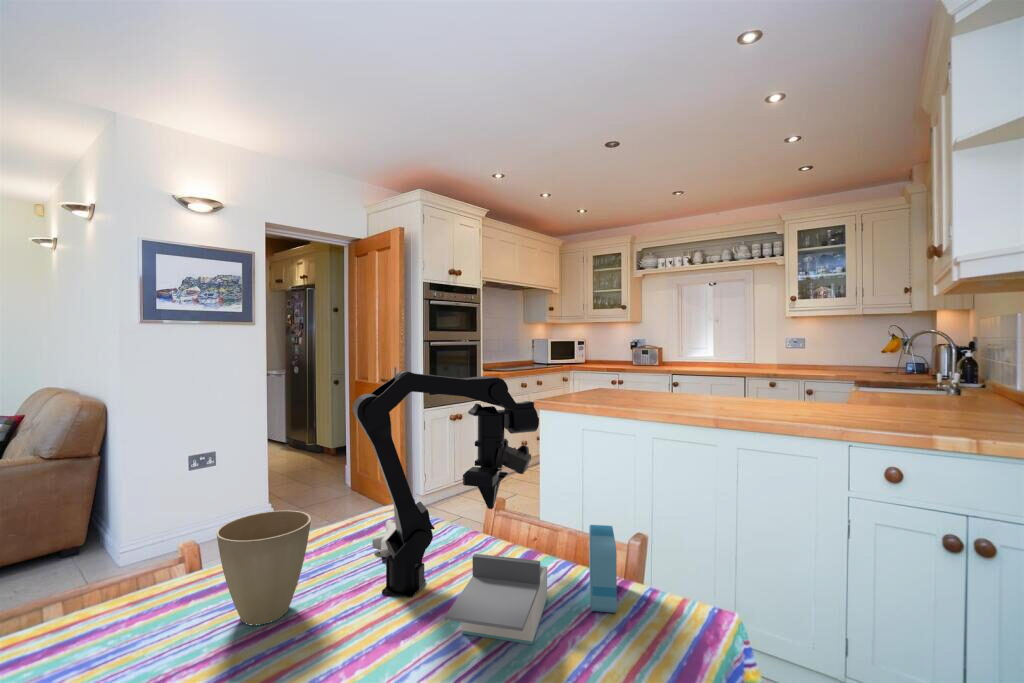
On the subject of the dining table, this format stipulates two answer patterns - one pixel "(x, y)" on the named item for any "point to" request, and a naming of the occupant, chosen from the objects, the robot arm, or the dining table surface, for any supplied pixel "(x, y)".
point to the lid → (498, 592)
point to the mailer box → (530, 625)
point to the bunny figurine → (384, 539)
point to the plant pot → (263, 562)
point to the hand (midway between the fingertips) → (490, 508)
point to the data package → (602, 569)
